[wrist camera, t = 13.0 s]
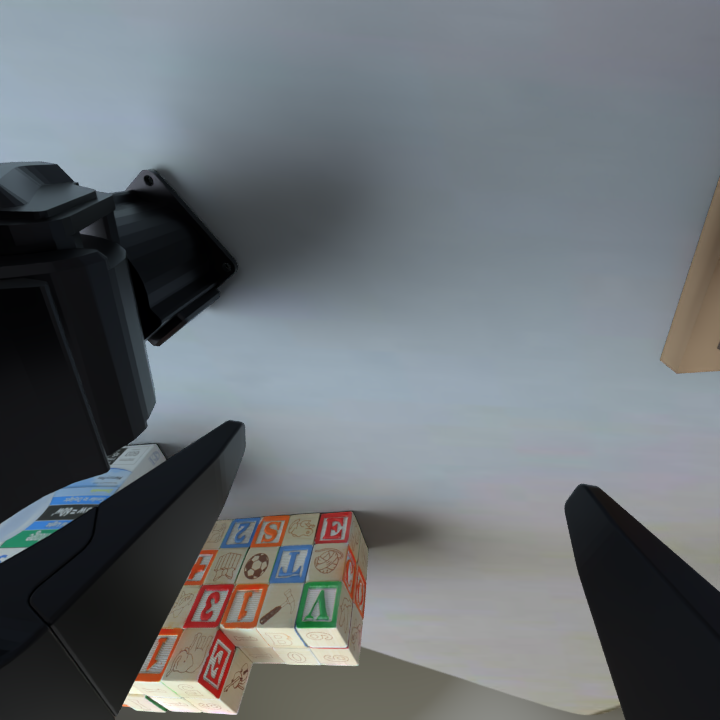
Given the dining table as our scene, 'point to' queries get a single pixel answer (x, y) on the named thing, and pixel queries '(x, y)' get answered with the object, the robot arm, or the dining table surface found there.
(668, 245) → the dining table surface
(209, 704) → the stack of blocks
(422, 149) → the dining table surface
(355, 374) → the dining table surface
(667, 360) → the shelf board
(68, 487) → the light bulb box
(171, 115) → the dining table surface
